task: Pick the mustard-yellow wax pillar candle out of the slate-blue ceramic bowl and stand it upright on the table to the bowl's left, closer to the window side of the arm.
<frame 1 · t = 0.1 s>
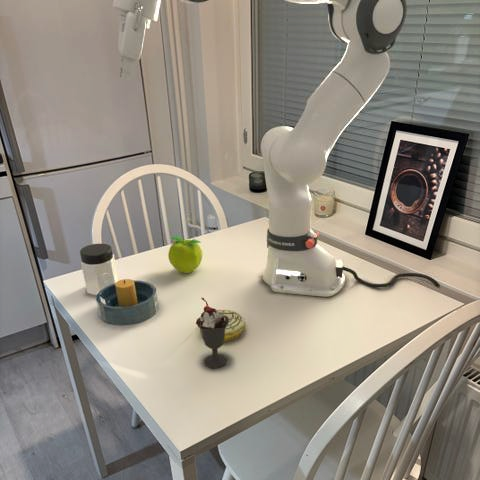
hand: (124, 79, 103), 52 cm above the table, tool tilted 20°, fingers open, 8 cm apart
jar: (103, 290, 134), on the table
bowl: (129, 311, 124), on the table
fruit: (186, 271, 143), on the table
candle: (129, 309, 123), point 1 cm above the table, touching bowl
decorated donut: (222, 332, 114), on the table
sundae: (215, 362, 104), on the table
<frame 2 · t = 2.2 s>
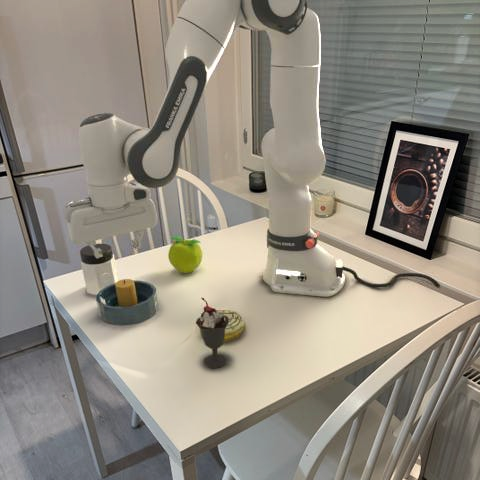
hand: (118, 252, 115), 16 cm above the table, tool pointing down, fingers open, 8 cm apart
nothing on the table moved.
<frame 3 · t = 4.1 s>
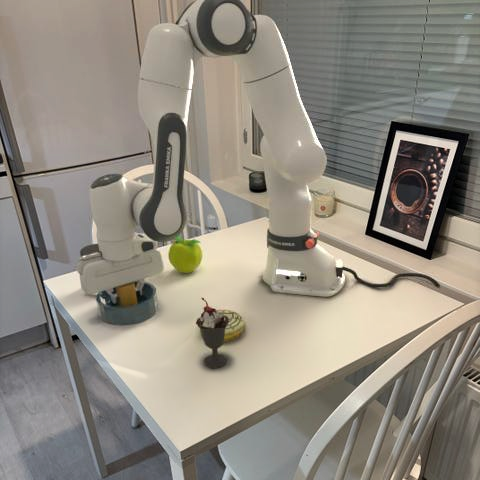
hand: (127, 298, 122), 4 cm above the table, tool pointing down, fingers closed on candle, 4 cm apart
candle: (129, 309, 123), point 1 cm above the table, touching bowl, gripper
everything else where it was.
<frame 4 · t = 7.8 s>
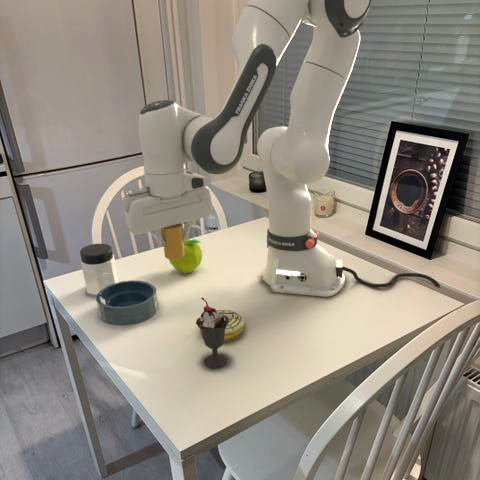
hand: (173, 242, 113), 18 cm above the table, tool pointing down, fingers closed on candle, 4 cm apart
candle: (174, 255, 115), point 15 cm above the table, touching gripper
everything else where it was.
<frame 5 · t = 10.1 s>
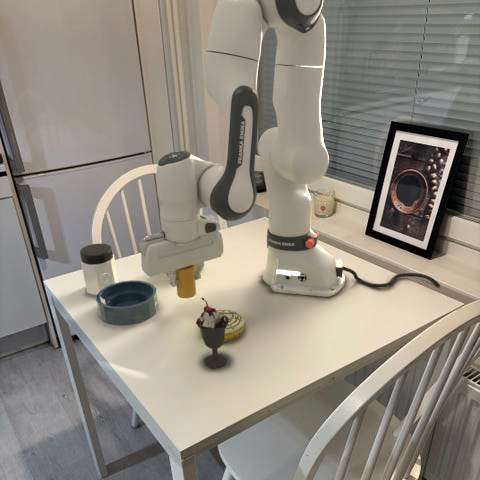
hand: (185, 282, 118), 8 cm above the table, tool pointing down, fingers closed on candle, 4 cm apart
candle: (186, 293, 120), point 5 cm above the table, touching gripper
everything else where it was.
when the fingers open (3 cm above the table, at t = 11.8 s): candle stays where it is, on the table.
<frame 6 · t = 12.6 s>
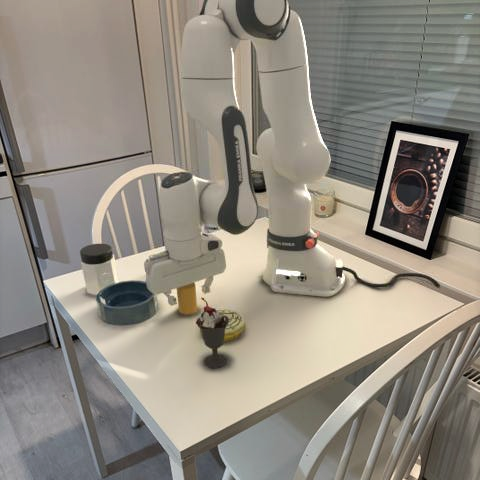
hand: (189, 298, 120), 4 cm above the table, tool pointing down, fingers open, 8 cm apart
candle: (188, 311, 123), on the table
everything else where it was.
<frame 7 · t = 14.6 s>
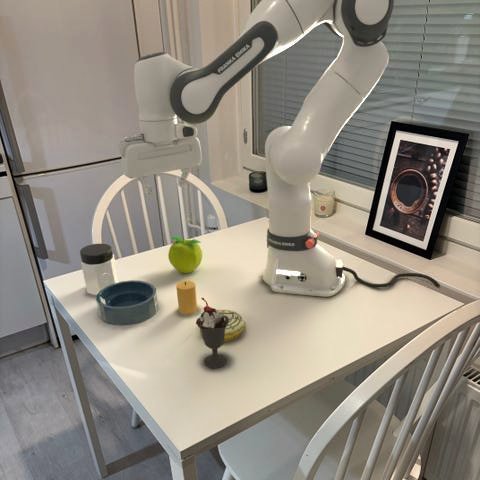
hand: (165, 189, 122), 26 cm above the table, tool pointing down, fingers open, 8 cm apart
nothing on the table moved.
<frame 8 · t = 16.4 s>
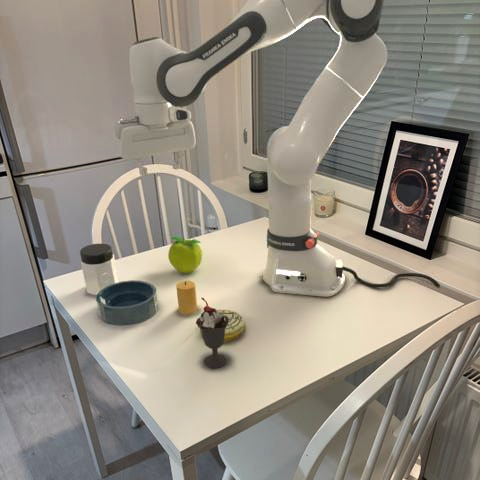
hand: (160, 171, 127), 29 cm above the table, tool pointing down, fingers open, 8 cm apart
nothing on the table moved.
at the end: candle inside the target area (0.3 cm from its centre), on the table; candle tilted 0°; candle touching table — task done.
